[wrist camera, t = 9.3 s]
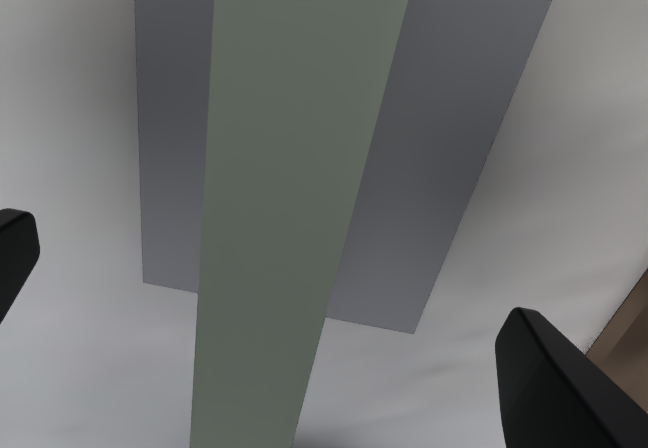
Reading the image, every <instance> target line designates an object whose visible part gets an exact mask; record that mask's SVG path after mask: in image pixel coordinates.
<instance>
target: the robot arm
mask: <svg viewBox="0 0 648 448" xmlns="http://www.w3.org/2000/svg"><path fill="white" fill-rule="evenodd" d="M39 255H40V245H39V239H38V233H37V228H36V222H35V218H34V216H33V215H32V214H31V213H29V212H27V211H22V210H16V209H11V208H6V209H2V210H0V324H1V322H2V321H3V319H4V317H5V316H6V314H7V312H8V311H9V309H10V307H11V306H12V304H13V302H14V300H15V299H16V297H17V295H18V294H19V292H20V290H21V288H22V287H23V285H24V283H25V282H26V280H27V278H28V276H29V275H30V273H31V271H32V270H33V268H34V266H35V264H36V263H37V261H38V258H39ZM495 354H496V366H497V378H498V389H499V401H500V412H501V421H502V427H503V433H504V438H505V443H506V448H648V413H647V412H645V411H644V410H643V409H642V408H641V407H640V406H639V405H638V404H637V403H636V402H635V401H634V400H633V399H632V398H630V397H629V396H628V395H627V394H626V393H625V392H624V391H623V390H622V389H621V388H620V387H619V386H618V385H616V384H615V383H614V382H613V381H612V380H611V379H610V378H609V377H608V376H607V375H606V374H605V373H604V372H603V371H601V370H600V369H599V368H598V367H597V366H596V365H595V364H594V363H593V362H592V361H591V360H590V359H589V358H588V357H586V356H585V355H584V354H583V353H582V352H581V351H580V350H579V349H578V348H577V347H576V346H575V345H574V344H573V343H571V342H570V341H569V340H568V339H567V338H566V337H565V336H564V335H563V334H562V333H561V332H560V331H559V330H558V329H556V328H555V327H554V326H553V325H552V324H551V323H550V322H549V321H548V320H547V319H546V318H545V317H544V316H543V315H541V314H540V313H539V312H538V311H536V310H532V309H527V308H521V307H516V308H514V309H513V310H512V311H511V312H510V314H509V316H508V317H507V319H506V321H505V323H504V325H503V326H502V328H501V330H500V332H499V334H498V336H497V338H496V342H495Z"/></svg>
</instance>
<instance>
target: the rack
mask: <svg viewBox="0 0 648 448" xmlns="http://www.w3.org/2000/svg"><path fill="white" fill-rule="evenodd" d="M585 356H586V357H588V358H589V359H590V360H591V361H592V362H593V363H594V364H595V365H596V366H597V367H598V368H599V369H600V370H601V371H603V372H604V373H605V374H606V375H607V376H608V377H609V378H610V379H611V380H612V381H613V382H614V383H615V384H616V385H618V386H619V387H620V388H621V389H622V390H623V391H624V392H625V393H626V394H627V395H628V396H629V397H630V398H632V399H633V400H634V401H635V402H636V403H637V404H638V405H639V406H640V407H641V408H642V409H643V410H644V411H645V412H647V413H648V270H647V271H646V272H645V274H644V275H643V277H642V278H641V279H640V281H639V282H638V283H637V285H636V286H635V288H634V289H633V290H632V292H631V293H630V294H629V296H628V297H627V299H626V300H625V301H624V303H623V304H622V306H621V307H620V308H619V310H618V311H617V312H616V314H615V315H614V317H613V318H612V319H611V321H610V322H609V323H608V325H607V326H606V328H605V329H604V330H603V332H602V333H601V335H600V336H599V337H598V339H597V340H596V341H595V343H594V344H593V346H592V347H591V348H590V350H589V351H588V352H587V354H586V355H585Z"/></svg>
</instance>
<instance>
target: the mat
mask: <svg viewBox="0 0 648 448" xmlns="http://www.w3.org/2000/svg"><path fill="white" fill-rule="evenodd" d="M551 2H552V0H408V3H407V6H406V10H405V14H404V18H403V22H402V26H401V29H400V33H399V37H398V41H397V45H396V49H395V52H394V56H393V60H392V64H391V68H390V71H389V75H388V79H387V83H386V87H385V91H384V94H383V98H382V102H381V106H380V110H379V114H378V117H377V121H376V125H375V129H374V133H373V137H372V140H371V144H370V148H369V152H368V156H367V160H366V163H365V167H364V171H363V175H362V179H361V182H360V186H359V190H358V194H357V198H356V202H355V205H354V209H353V213H352V217H351V221H350V225H349V228H348V232H347V236H346V240H345V244H344V248H343V251H342V255H341V259H340V263H339V267H338V270H337V274H336V278H335V282H334V286H333V290H332V293H331V297H330V301H329V305H328V309H327V313H326V316H325V317H326V318H332V319H337V320H342V321H347V322H353V323H358V324H363V325H368V326H374V327H379V328H384V329H389V330H395V331H400V332H405V333H410V334H414V332H415V329H416V327H417V325H418V322H419V320H420V317H421V315H422V313H423V310H424V308H425V305H426V303H427V301H428V298H429V296H430V293H431V291H432V288H433V286H434V284H435V281H436V279H437V276H438V274H439V272H440V269H441V267H442V264H443V262H444V260H445V257H446V255H447V252H448V250H449V247H450V245H451V243H452V240H453V238H454V235H455V233H456V231H457V228H458V226H459V223H460V221H461V219H462V216H463V214H464V211H465V209H466V206H467V204H468V202H469V199H470V197H471V194H472V192H473V190H474V187H475V185H476V182H477V180H478V178H479V175H480V173H481V170H482V168H483V166H484V163H485V161H486V158H487V156H488V153H489V151H490V149H491V146H492V144H493V141H494V139H495V137H496V134H497V132H498V129H499V127H500V125H501V122H502V120H503V117H504V115H505V112H506V110H507V108H508V105H509V103H510V100H511V98H512V96H513V93H514V91H515V88H516V86H517V84H518V81H519V79H520V76H521V74H522V71H523V69H524V67H525V64H526V62H527V59H528V57H529V55H530V52H531V50H532V47H533V45H534V43H535V40H536V38H537V35H538V33H539V30H540V28H541V26H542V23H543V21H544V18H545V16H546V14H547V11H548V9H549V6H550V4H551ZM213 12H214V0H135V31H136V64H137V97H138V131H139V164H140V197H141V230H142V264H143V283H148V284H153V285H159V286H164V287H169V288H174V289H180V290H185V291H190V292H195V293H198V287H199V269H200V250H201V232H202V214H203V195H204V177H205V159H206V141H207V122H208V104H209V86H210V67H211V49H212V31H213Z"/></svg>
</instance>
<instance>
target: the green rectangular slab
mask: <svg viewBox="0 0 648 448" xmlns="http://www.w3.org/2000/svg"><path fill="white" fill-rule="evenodd" d="M407 3H408V0H214V12H213V31H212V49H211V67H210V86H209V104H208V122H207V141H206V159H205V177H204V195H203V214H202V232H201V250H200V269H199V287H198V305H197V324H196V342H195V360H194V378H193V397H192V415H191V433H190V448H291V447H292V443H293V439H294V435H295V431H296V427H297V424H298V420H299V416H300V412H301V408H302V404H303V401H304V397H305V393H306V389H307V385H308V381H309V378H310V374H311V370H312V366H313V362H314V359H315V355H316V351H317V347H318V343H319V339H320V336H321V332H322V328H323V324H324V320H325V316H326V313H327V309H328V305H329V301H330V297H331V293H332V290H333V286H334V282H335V278H336V274H337V270H338V267H339V263H340V259H341V255H342V251H343V248H344V244H345V240H346V236H347V232H348V228H349V225H350V221H351V217H352V213H353V209H354V205H355V202H356V198H357V194H358V190H359V186H360V182H361V179H362V175H363V171H364V167H365V163H366V160H367V156H368V152H369V148H370V144H371V140H372V137H373V133H374V129H375V125H376V121H377V117H378V114H379V110H380V106H381V102H382V98H383V94H384V91H385V87H386V83H387V79H388V75H389V71H390V68H391V64H392V60H393V56H394V52H395V49H396V45H397V41H398V37H399V33H400V29H401V26H402V22H403V18H404V14H405V10H406V6H407Z"/></svg>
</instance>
